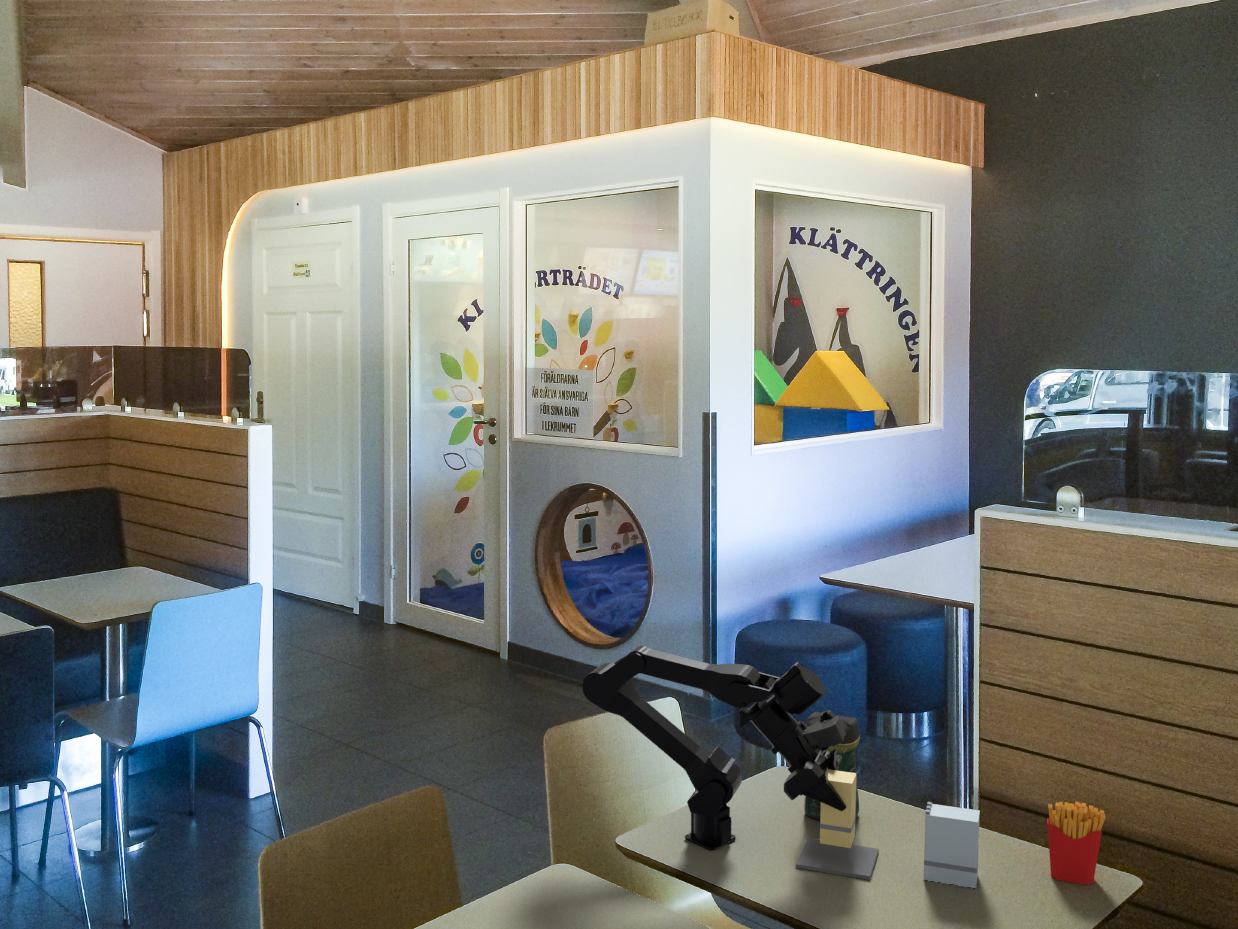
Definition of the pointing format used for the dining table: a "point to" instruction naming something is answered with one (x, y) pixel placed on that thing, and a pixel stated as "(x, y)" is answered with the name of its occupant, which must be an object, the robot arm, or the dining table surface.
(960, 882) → the knobbed pale slab
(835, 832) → the block
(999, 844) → the dining table surface
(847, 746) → the coffee jar
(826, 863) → the mat
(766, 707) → the robot arm
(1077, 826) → the french fries
